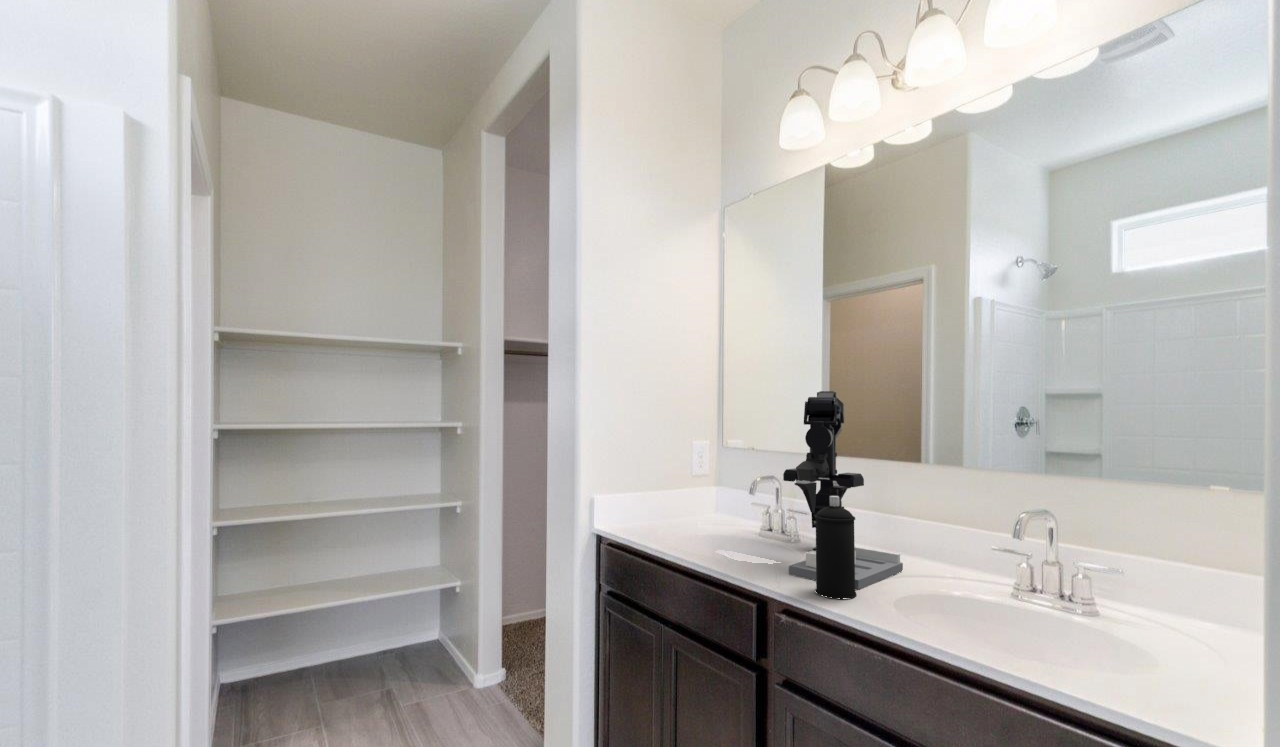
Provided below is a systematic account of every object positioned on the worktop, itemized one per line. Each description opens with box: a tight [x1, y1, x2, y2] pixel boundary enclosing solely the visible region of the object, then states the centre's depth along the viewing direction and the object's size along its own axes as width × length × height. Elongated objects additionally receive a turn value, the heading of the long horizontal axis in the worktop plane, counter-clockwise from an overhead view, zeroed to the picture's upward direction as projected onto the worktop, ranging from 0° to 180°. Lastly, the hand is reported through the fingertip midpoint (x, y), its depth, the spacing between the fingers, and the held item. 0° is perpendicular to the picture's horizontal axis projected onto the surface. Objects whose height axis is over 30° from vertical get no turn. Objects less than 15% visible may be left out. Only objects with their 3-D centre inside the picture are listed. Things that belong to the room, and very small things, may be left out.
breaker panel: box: [788, 545, 904, 591], centre depth 147 cm, size 22×17×4 cm
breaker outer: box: [805, 550, 816, 568], centre depth 145 cm, size 3×3×3 cm
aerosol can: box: [814, 496, 857, 600], centre depth 131 cm, size 8×8×20 cm
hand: (822, 513), depth 152 cm, fingers open, 5 cm apart
